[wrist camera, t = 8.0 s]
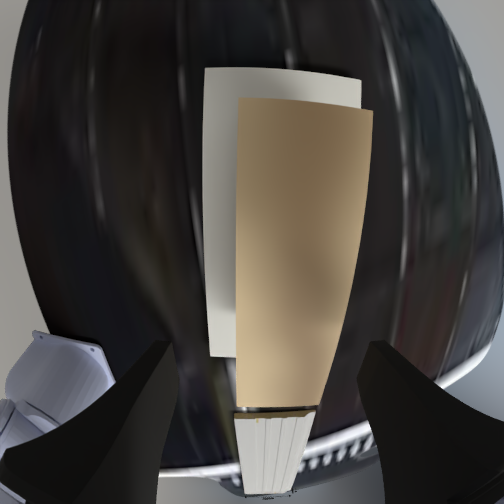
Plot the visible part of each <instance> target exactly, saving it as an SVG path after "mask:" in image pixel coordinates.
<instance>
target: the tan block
mask: <svg viewBox="0 0 504 504" xmlns="http://www.w3.org/2000/svg"><path fill="white" fill-rule="evenodd" d="M372 121H373V111H370V110H365V109H359V108H354V107H348V106H341V105H334V104H327V103H319V102H310V101H300V100H288V99H273V98H243V97H238V132H237V182H236V385H237V407H289V406H308V405H319V402H320V399H321V396H322V393H323V390H324V387H325V384H326V381H327V378H328V375H329V371H330V368H331V365H332V361H333V358H334V355H335V351H336V348H337V344H338V340H339V336H340V333H341V329H342V325H343V321H344V317H345V313H346V309H347V304H348V300H349V295H350V291H351V286H352V281H353V277H354V272H355V266H356V261H357V256H358V250H359V244H360V238H361V232H362V225H363V219H364V211H365V204H366V196H367V187H368V178H369V167H370V155H371V141H372Z"/></svg>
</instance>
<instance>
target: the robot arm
mask: <svg viewBox="0 0 504 504" xmlns="http://www.w3.org/2000/svg"><path fill="white" fill-rule="evenodd" d="M32 334H33V337H34V341H33V342H32V343H31V344H30V346H29V347H28V348H27V349H26V351H25V352H24V353H23V354H22V356H21V357H20V358H19V360H18V361H17V362H16V364H15V365H14V366H13V368H12V369H11V370H10V372H9V374H8V376H7V379H6V385H5V393H6V398H7V399H1V400H0V504H156V495H157V485H158V476H159V468H160V461H161V456H162V451H163V447H164V444H165V440H166V436H167V433H168V429H169V426H170V422H171V419H172V415H173V411H174V408H175V404H176V399H177V393H178V386H179V375H178V371H177V366H176V361H175V356H174V351H173V346H172V342H169V341H159V340H155V341H154V342H153V343H152V344H151V345H150V346H149V348H148V349H147V350H146V351H145V352H144V353H143V354H142V355H141V356H140V358H139V359H138V360H137V361H136V362H135V363H134V364H133V365H132V366H131V367H130V368H129V369H128V370H127V371H126V372H125V373H124V375H123V376H122V377H121V378H120V379H119V380H118V381H117V382H115V380H114V377H113V375H112V372H111V370H110V368H109V365H108V363H107V360H106V358H105V355H104V352H103V350H102V348H101V346H99V345H97V344H92V343H87V342H82V341H78V340H73V339H68V338H64V337H60V336H56V335H51V334H47V333H43V332H40V331H36V330H34V331H33V332H32ZM357 383H358V388H359V393H360V397H361V401H362V404H363V407H364V410H365V413H366V416H367V419H368V421H369V424H370V427H371V430H372V433H373V436H374V439H375V442H376V445H377V448H378V452H379V457H380V462H381V468H382V474H383V482H384V491H385V504H504V422H503V421H501V420H498V419H495V418H492V417H490V416H488V415H486V414H483V413H481V412H479V411H477V410H475V409H473V408H471V407H470V406H468V405H466V404H464V403H463V402H461V401H460V400H458V399H456V398H455V397H453V396H452V395H450V394H449V393H447V392H446V391H445V390H443V389H442V388H441V387H439V386H438V385H437V384H435V383H434V382H433V381H431V380H430V379H429V378H428V377H427V376H425V375H424V374H423V373H422V372H421V371H419V370H418V369H417V368H416V367H415V366H414V365H412V364H411V363H410V362H409V361H408V360H407V359H406V358H405V357H403V356H402V355H401V354H400V353H399V352H398V351H397V350H395V349H394V348H393V347H392V346H391V345H390V344H388V343H387V342H386V341H385V340H381V341H371V342H370V344H369V347H368V349H367V352H366V355H365V358H364V360H363V363H362V366H361V368H360V371H359V373H358V376H357Z"/></svg>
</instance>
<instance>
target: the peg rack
mask: <svg viewBox="0 0 504 504" xmlns="http://www.w3.org/2000/svg"><path fill="white" fill-rule="evenodd" d="M238 97H243V98H273V99H288V100H300V101H310V102H319V103H327V104H334V105H341V106H348V107H354V108H359V109H361V80H357V79H352V78H346V77H341V76H335V75H329V74H322V73H315V72H307V71H297V70H287V69H273V68H248V67H222V68H205V80H204V106H203V235H204V262H205V283H206V301H207V317H208V331H209V344H210V356H217V357H236V182H237V132H238Z"/></svg>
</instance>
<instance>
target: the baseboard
mask: <svg viewBox="0 0 504 504" xmlns="http://www.w3.org/2000/svg"><path fill="white" fill-rule="evenodd" d="M315 412H316V411H315V410H305V411H292V412H274V413H234V422H235V430H236V437H237V445H238V452H239V459H240V465H241V472H242V479H243V485H244V491H245V494H266V493H271V494H274V493H285V492H286V491H288V490H291V489H292V488H291V487H292V485H293V482H294V479H295V476H296V473H297V471H298V468H299V465H300V462H301V459H302V456H303V453H304V450H305V446H306V443H307V440H308V437H309V433H310V430H311V426H312V423H313V419H314V416H315ZM295 489H296V488H295ZM292 490H293V489H292ZM295 492H297V491H295ZM292 493H293V491H292ZM289 496H290V495H289ZM245 498H246V496H245ZM266 499H267V498H266ZM266 499H265V500H266ZM268 499H274V498H268Z"/></svg>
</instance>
